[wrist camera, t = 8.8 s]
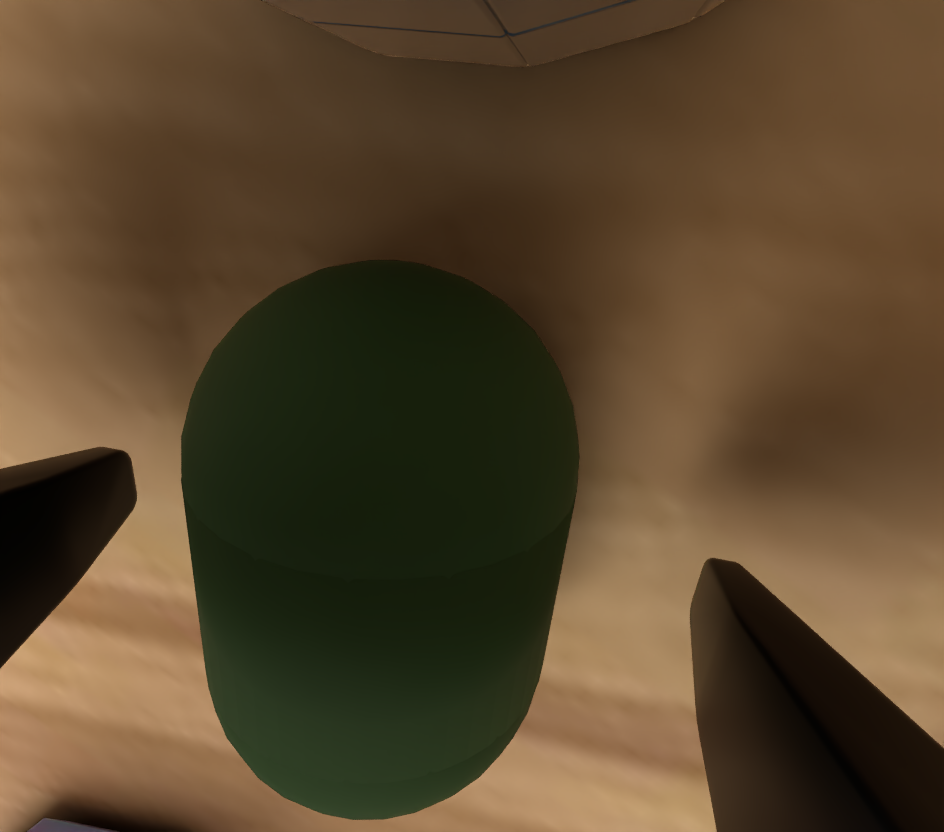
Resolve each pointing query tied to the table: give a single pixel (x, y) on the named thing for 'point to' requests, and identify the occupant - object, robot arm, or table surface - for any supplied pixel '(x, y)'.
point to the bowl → (492, 25)
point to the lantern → (64, 827)
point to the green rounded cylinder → (377, 532)
